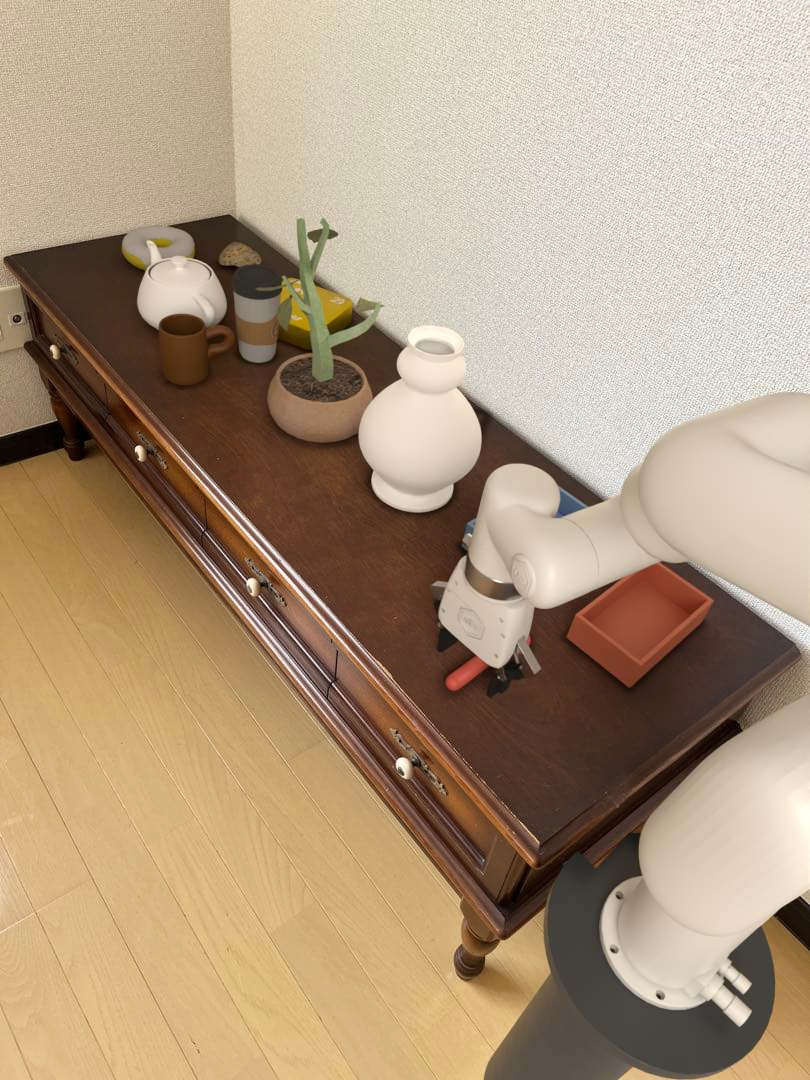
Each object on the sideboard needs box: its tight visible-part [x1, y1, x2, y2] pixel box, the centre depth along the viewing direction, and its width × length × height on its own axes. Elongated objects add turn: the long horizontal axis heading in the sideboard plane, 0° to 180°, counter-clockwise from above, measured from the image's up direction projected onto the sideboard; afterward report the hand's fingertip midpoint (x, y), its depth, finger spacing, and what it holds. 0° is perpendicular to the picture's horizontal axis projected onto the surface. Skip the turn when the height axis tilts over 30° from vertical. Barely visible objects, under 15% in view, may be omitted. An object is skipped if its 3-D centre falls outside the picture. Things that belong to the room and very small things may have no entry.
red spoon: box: [445, 634, 532, 692], centre depth 101 cm, size 14×4×2 cm, turn 133°
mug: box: [158, 314, 235, 387], centre depth 135 cm, size 12×8×9 cm, turn 102°
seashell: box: [218, 241, 263, 268], centre depth 167 cm, size 8×6×8 cm
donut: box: [121, 225, 196, 272], centre depth 163 cm, size 14×14×5 cm
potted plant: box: [256, 217, 386, 444], centre depth 126 cm, size 22×18×30 cm
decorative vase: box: [358, 324, 482, 513], centre depth 116 cm, size 18×18×25 cm
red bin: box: [565, 562, 715, 689], centre depth 107 cm, size 17×10×5 cm, turn 133°
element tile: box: [277, 277, 354, 351], centre depth 153 cm, size 15×15×5 cm
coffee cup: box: [231, 263, 283, 364], centre depth 140 cm, size 8×8×15 cm
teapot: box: [136, 240, 228, 331], centre depth 146 cm, size 25×16×12 cm, turn 36°
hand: (471, 667), depth 100 cm, fingers open, 7 cm apart
